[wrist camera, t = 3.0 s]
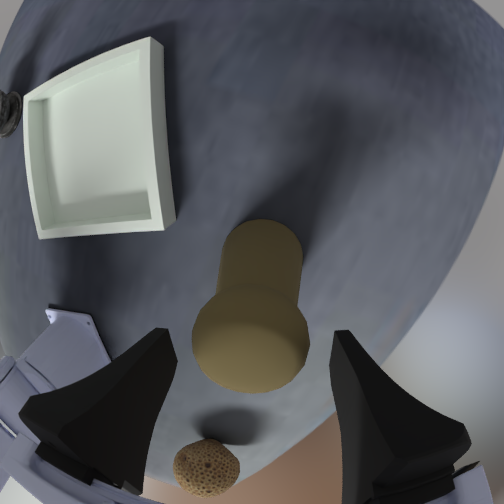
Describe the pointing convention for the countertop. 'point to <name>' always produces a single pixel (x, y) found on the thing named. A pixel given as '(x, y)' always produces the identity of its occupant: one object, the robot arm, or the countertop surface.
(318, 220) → the countertop surface
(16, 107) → the gray chess piece
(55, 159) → the tray
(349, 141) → the countertop surface
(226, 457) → the natural sponge
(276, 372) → the cork
